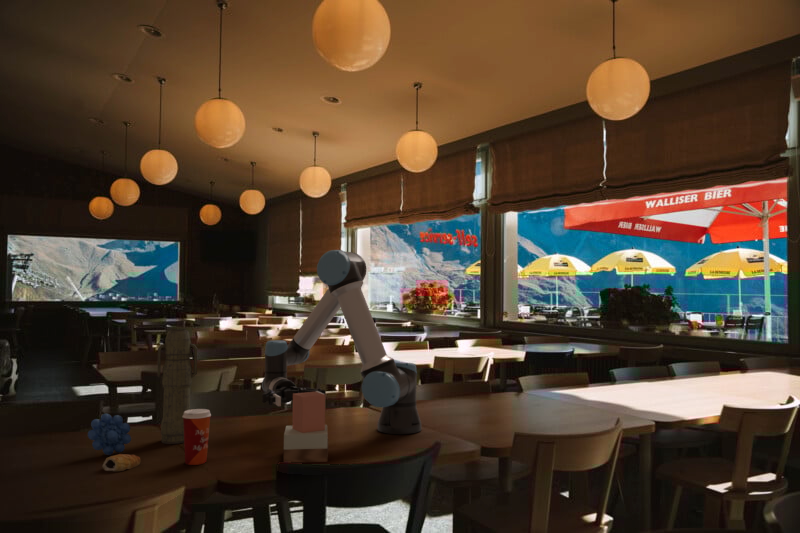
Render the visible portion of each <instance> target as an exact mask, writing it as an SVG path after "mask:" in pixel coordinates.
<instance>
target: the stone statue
mask: <svg viewBox="0 0 800 533" xmlns="http://www.w3.org/2000/svg"><path fill="white" fill-rule="evenodd" d="M164 341H165V342H164V344H160V346H159V347H158V348H157V377H158V378H159V379H161V380H162V381H161V384H162V388H163V404H162V405H163V406H162V407H163V408H162V414H163V415H162V419H161V424H160V435H161V443H162V444H166V445H178V444H184V422H183V417H182V416H183V415H184V411H187V410H191V409H190V408H191V387H192V382H193V378H194V377H195V376H196V375H198V351H199V350H198V347H197V346H196V344H194V343H192V341H191V335H190V332H189V330H187V329H185V328H184V329H181V328H179V329H177V328H176V329H175V328H174V329H170V330H168V331H167V334H166V337H165V340H164ZM162 348H163V349H165V350H164V355H165V358H164V364H163V367H161V364H162V363H161V362H162V361H161V360H162ZM191 348H192V349H193V366H192V363H191V357H190V356H191ZM161 368H162V373H161Z"/></svg>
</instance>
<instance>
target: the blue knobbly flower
mask: <svg viewBox="0 0 800 533" xmlns="http://www.w3.org/2000/svg"><path fill="white" fill-rule="evenodd" d="M90 426H91V428H92V429H90V430H88V432H87V437H88V439H89V440H90V441H92V444H91V445H92V448H93V449H94V450H96V451H101V450H102V452H103V454H104V455H106V456H112V454H113V453H114V451H115V452H116V453H119V454H122V452H124V450H125V445H128V444H129V443H131V440H132V437H131V435H130V434H129V433H130V431H131V426H130V424H129V423H127V422H124V419H123V417H122V416H121V415H119V414H115V415H113V416H112V415H111V414H109V413H106V412H105V413H103V414H101V416H100V419H98V418H94V419H93V420H91V423H90Z"/></svg>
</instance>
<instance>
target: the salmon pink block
mask: <svg viewBox="0 0 800 533" xmlns="http://www.w3.org/2000/svg"><path fill="white" fill-rule="evenodd" d="M325 425H326V394H325V395H324V394H321V393H318V392H306V393H295V394H293V400H292V426H293V429H295V430H297V431H299V432H301V433H306V432H313V431H321V430H325Z"/></svg>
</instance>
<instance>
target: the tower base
mask: <svg viewBox="0 0 800 533" xmlns="http://www.w3.org/2000/svg"><path fill="white" fill-rule="evenodd" d="M328 454H329V443H328V444H327V448H326V449H286V450H284V449H283V462H284V461H291V462H290V463H324V462H325V463H326V462H328V457H329V456H328Z"/></svg>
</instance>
